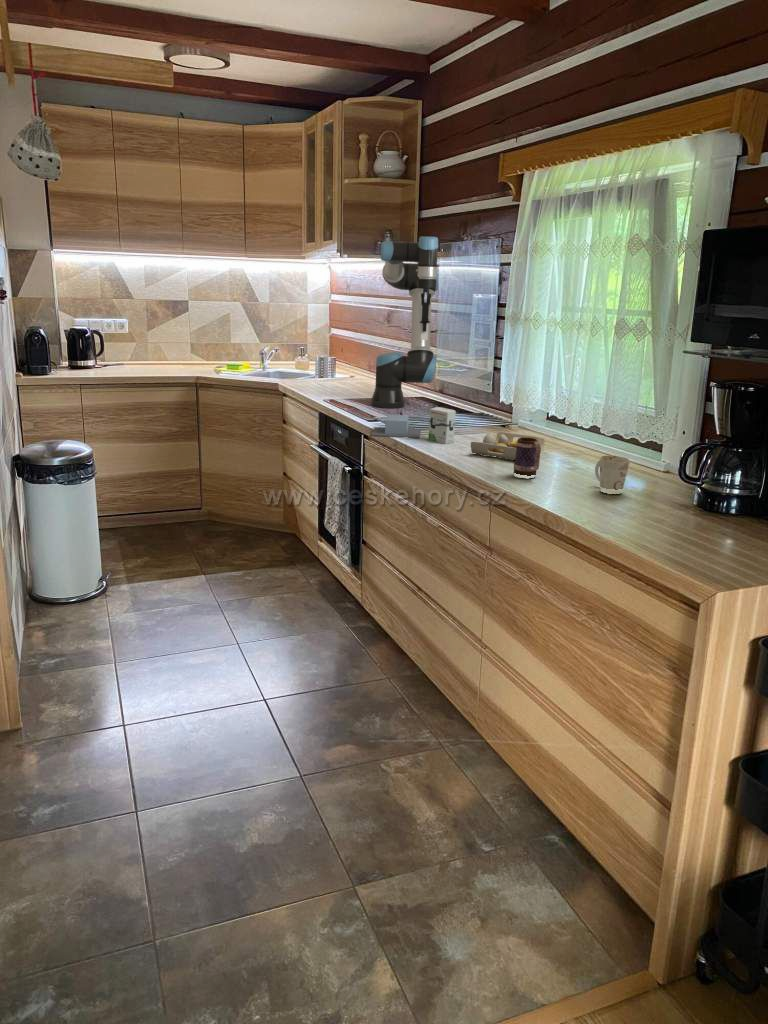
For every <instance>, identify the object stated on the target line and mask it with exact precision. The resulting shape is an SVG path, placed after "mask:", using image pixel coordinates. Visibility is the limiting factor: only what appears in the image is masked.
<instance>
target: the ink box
mask: <svg viewBox="0 0 768 1024" xmlns="http://www.w3.org/2000/svg"><path fill="white" fill-rule="evenodd" d="M456 413H457V411H456V410H454V409H451V408H450V409H449V408H447V407H446V408H445V407H440V406H438V407H437V406H436V407H433V408H430V409H429V419H428V422H429V423H428V437H427V438H428V439H427V440H428V441H430V442H435V443H440V444H442V445H448V444H453V443H455V429H456V428H455V427H456Z"/></svg>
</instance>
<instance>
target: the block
mask: <svg viewBox="0 0 768 1024" xmlns="http://www.w3.org/2000/svg"><path fill="white" fill-rule="evenodd" d="M409 418H410V417H409V415H408V414H404V415H403V414H387V416H386V419H385V425H384V426H385V427H384V428H385V434H404V435H406V434H407V431H408V429H409V420H410V419H409Z"/></svg>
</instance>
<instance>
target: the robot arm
mask: <svg viewBox="0 0 768 1024" xmlns="http://www.w3.org/2000/svg"><path fill="white" fill-rule="evenodd" d="M438 251H439V238H438V237H437V236H419V238H418V241H415V242H414V241H410V242H409V241H392V240H388V241H382V242H381V243H380V260H381V261H383V262H384V264H383V267H382V273H381V274H382V277H383V280H384V281H385V282H386V283H387V284H388V285H389V286H390V287H392V288H395V289H397V290H401V291H408V295H409V296H410V297H411V329H410V330H411V331H410V333H411V334H410V349H408V351H407V355H404V353H403V352H402V351H400V352H399V351H398V352H397V351H396V352H395V351H393V352H385V353H381V354H379V355H377V356H376V360H375V361H376V363H375V387H374V392H373V394H372V397H371V400H370V405H371V406H372V407H376V408H382V409H383V408H385V409H398V408H404V407H405V405H406V403H405V402H406V401H405V397H404V394H403V390H402V383H406V384H407V383H409V384H411V383H412V384H414V383H415V384H430V383H432V382H433V380H434V379H435V372H436V368H437V367H436V365H437V356H434V351H433V350H432V349H431V329H432V327H431V326H432V325H431V323H432V315H431V314H432V313H431V312H432V298H433V297H434V295H435V294H436V292H438V290H439V275H438V254H439V253H438Z"/></svg>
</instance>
